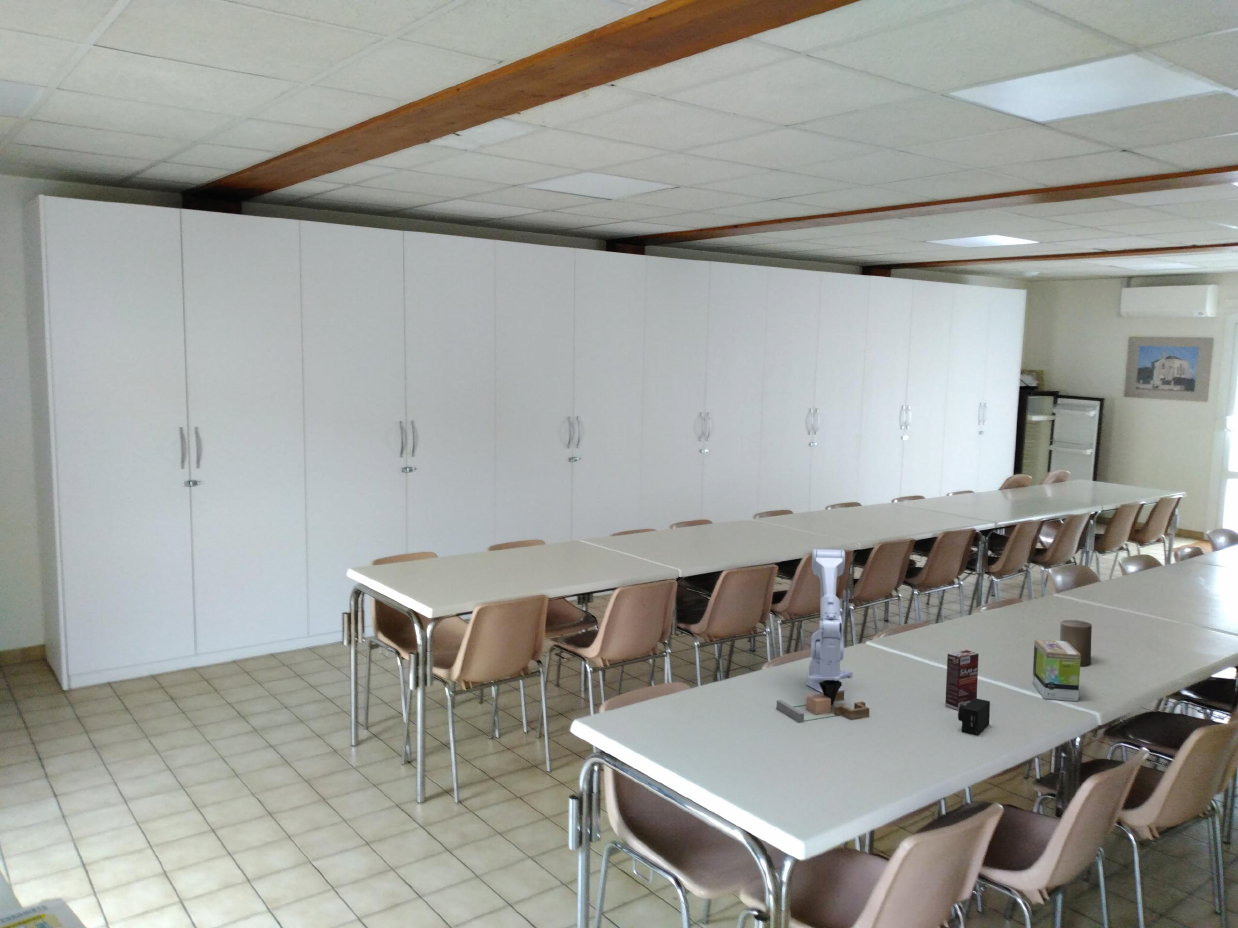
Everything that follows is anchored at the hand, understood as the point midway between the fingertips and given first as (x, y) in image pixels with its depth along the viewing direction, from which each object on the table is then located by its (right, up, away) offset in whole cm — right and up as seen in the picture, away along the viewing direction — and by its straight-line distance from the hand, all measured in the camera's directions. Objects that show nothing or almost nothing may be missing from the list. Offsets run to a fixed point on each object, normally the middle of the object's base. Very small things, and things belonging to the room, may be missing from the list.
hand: (829, 704), depth 265 cm
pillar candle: (+94, +3, +43) cm, 104 cm away
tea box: (+73, 0, +13) cm, 74 cm away
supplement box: (+40, -1, +2) cm, 40 cm away
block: (-4, -1, -1) cm, 4 cm away
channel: (+4, -1, 0) cm, 4 cm away
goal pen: (-7, -2, -3) cm, 8 cm away
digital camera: (+36, -3, -15) cm, 39 cm away
